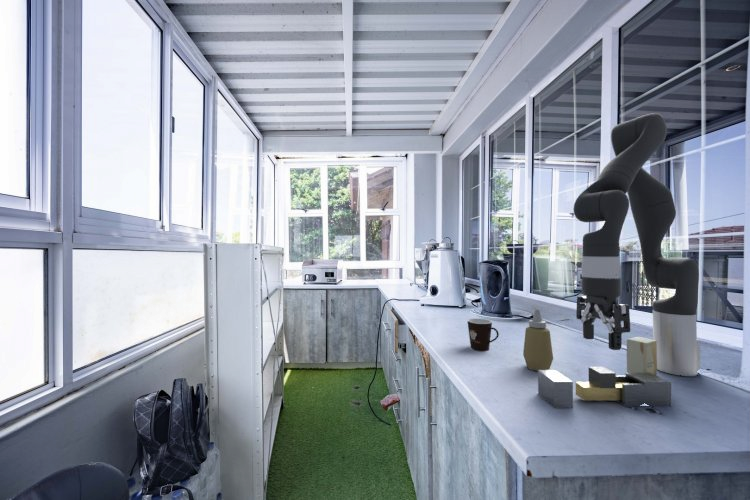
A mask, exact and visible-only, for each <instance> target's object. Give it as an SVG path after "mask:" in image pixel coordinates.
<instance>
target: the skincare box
mask: <svg viewBox="0 0 750 500" xmlns="http://www.w3.org/2000/svg"><path fill="white" fill-rule="evenodd" d="M626 373H652V374H654V375H656V376H658V369H657V340H653V338H652V339H651V338H647V337H644V336H643V337H642V336H635V337H631V338H626Z"/></svg>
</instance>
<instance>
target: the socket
mask: <svg viewBox="0 0 750 500" xmlns="http://www.w3.org/2000/svg"><path fill="white" fill-rule="evenodd" d="M573 385H574V382H573V381H572V380H571V379H570V378H568V377H567V376H565V375H564V374H562V373H560V372H559V371H557V370H556V369H549V370H538V371H537V393H538V395H539V396H540V397H541V398H542V399H543V400H544V401H546V403H548V404H549V405H550V406H551V407H552V408H553V409H573V408H574V386H573Z"/></svg>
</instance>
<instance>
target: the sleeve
mask: <svg viewBox="0 0 750 500" xmlns="http://www.w3.org/2000/svg"><path fill="white" fill-rule="evenodd" d="M616 382H640V383H622V400H615V401H616V402H617V403H619V404H621V405H622V406H623V407H641V406H640V405H642V404H644V403H645V404H647V405H649V406H648V407H672V381H669V380H667V379H665V378H663V377H661V376H658V375H657V376H656V375H654V374H652V373H627V372H625V374H624V375H622V374H621V375H619V374H618V375H617V374H616Z"/></svg>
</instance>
